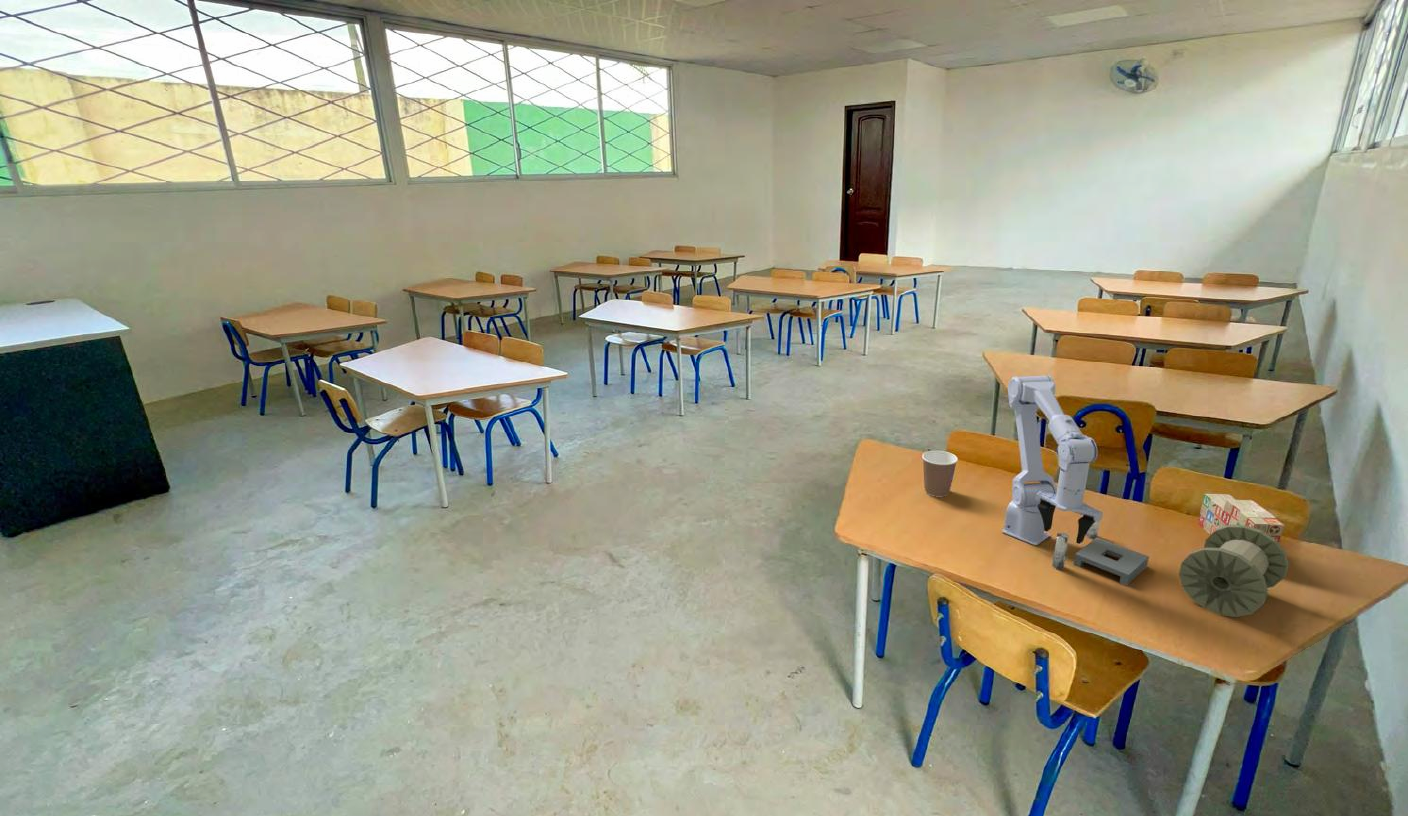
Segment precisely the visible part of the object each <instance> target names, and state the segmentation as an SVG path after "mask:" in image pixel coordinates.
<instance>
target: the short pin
mask: <svg viewBox="0 0 1408 816" xmlns="http://www.w3.org/2000/svg"><path fill="white" fill-rule="evenodd" d="M1100 523H1101V522H1100V521H1098V522H1097V521H1095V522H1094V524H1093V525H1092V526H1091V527H1090V529H1089V530H1088V532H1087V533H1086V535H1085V537H1087V538H1088V539H1093V540H1094V539H1095V538H1096V537H1098V533H1099V528H1100Z"/></svg>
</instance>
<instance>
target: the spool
mask: <svg viewBox="0 0 1408 816" xmlns="http://www.w3.org/2000/svg"><path fill="white" fill-rule="evenodd" d="M1289 566H1290V563H1289V560H1288V555H1287V552H1286V550H1285V549H1284V548H1283V546H1282V545H1281V544H1280V542H1279V543H1278V542H1277V540H1276V539H1274V538H1273V537H1271V536H1270V535H1268V534H1267V533H1265V532H1263V531H1262V530H1259V529H1256V528H1253V527H1249V526H1246V525H1228V526H1225V527H1222V528H1219V529H1216V530H1215V531H1214V532H1213V533H1212V534H1211V535H1210V534H1209V536H1208V537H1207V538H1206V539H1205V542H1204V546H1203V548H1200V549H1198V550H1197V549H1196V550H1194V551H1192V552H1191V553H1190V554H1188V555H1187V557H1186V558H1185V559H1184V560H1182V561H1181V564H1180V569H1179V572H1178V576H1179V579H1180V583H1181V587H1182V588H1183V589H1184V591H1185V592H1186V594H1187V595H1188V596H1189V597H1190V599H1191V600H1193V601H1194V602H1195V603H1196V604H1198V605H1199V606H1201V608H1203V609H1205V610H1208V611H1210V612H1212V613H1215V614H1218V615H1219V616H1226V617H1236V618H1239V617H1243V616H1248V615H1252V614H1254V613H1255V612H1256V611H1257V610H1259V609H1260V607H1263V605H1264V604H1265V601H1266V598H1267V596H1268V595H1267V594H1268V591H1269V590H1268V589H1270V588H1273V587H1275V586H1276V585H1277V584H1278V583H1280V582H1281V581H1282V580H1283V579H1284V578H1285V577H1286V574H1287V572H1288V569H1289Z"/></svg>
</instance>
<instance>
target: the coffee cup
mask: <svg viewBox="0 0 1408 816" xmlns="http://www.w3.org/2000/svg"><path fill="white" fill-rule="evenodd" d="M921 457H922V461H923V463H922V465H923V485H924V492H925V491H926V492H927V493H928V494H929V495H928V494H927V493H926V492H925V493H926V494H927V495H928V496H930V495H932V496H931V497H934V496H936V497H935V498H944V497H943V496H945V497H946V495H947V496H948V495H949V493H950V490H951V487H952V483H953V479H954V475H955V469H956V464H957V462H958V461H959V458H958V457H957V455H955V454H953V453H951V452H948V451H943V450H928V451H924V453H922V456H921Z"/></svg>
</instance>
